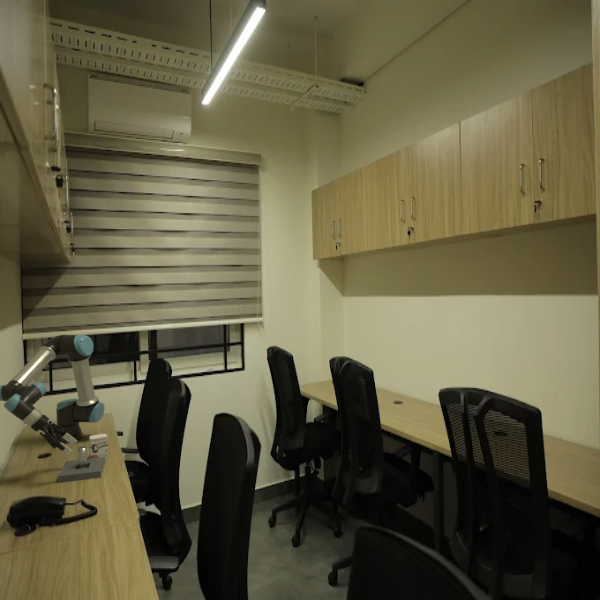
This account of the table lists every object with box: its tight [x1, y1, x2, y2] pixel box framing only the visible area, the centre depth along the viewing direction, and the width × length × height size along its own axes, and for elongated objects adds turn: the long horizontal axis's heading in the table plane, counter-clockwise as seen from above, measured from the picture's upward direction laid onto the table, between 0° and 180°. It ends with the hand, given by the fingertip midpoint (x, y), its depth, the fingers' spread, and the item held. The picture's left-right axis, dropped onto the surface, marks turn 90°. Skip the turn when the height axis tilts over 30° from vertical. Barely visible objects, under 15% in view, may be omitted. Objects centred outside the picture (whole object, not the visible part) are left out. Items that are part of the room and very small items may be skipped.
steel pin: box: [77, 445, 88, 469], centre depth 213 cm, size 4×4×12 cm
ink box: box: [88, 433, 109, 459], centre depth 231 cm, size 8×5×12 cm, turn 123°
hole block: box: [57, 457, 106, 483], centre depth 213 cm, size 18×18×3 cm
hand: (72, 448), depth 211 cm, fingers open, 13 cm apart
